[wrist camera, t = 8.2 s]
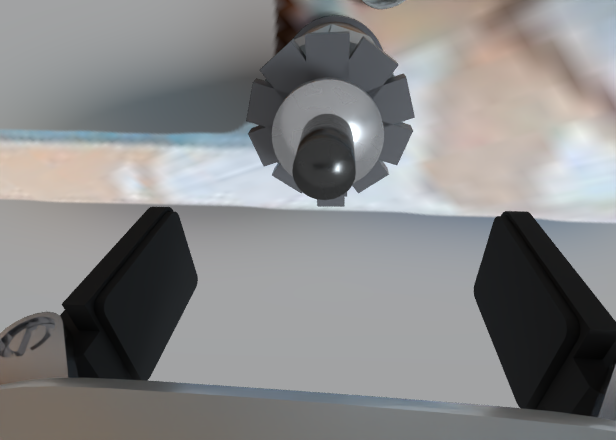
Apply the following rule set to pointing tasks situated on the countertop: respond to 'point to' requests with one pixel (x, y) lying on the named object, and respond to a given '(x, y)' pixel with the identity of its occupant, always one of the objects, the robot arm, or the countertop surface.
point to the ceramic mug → (382, 3)
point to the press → (337, 64)
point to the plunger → (327, 136)
